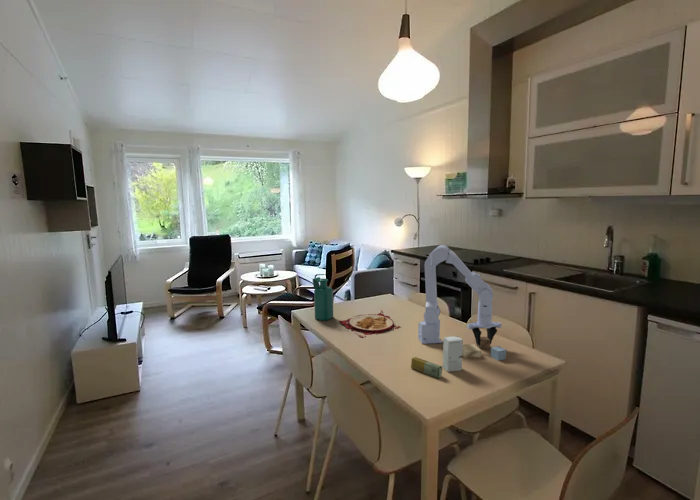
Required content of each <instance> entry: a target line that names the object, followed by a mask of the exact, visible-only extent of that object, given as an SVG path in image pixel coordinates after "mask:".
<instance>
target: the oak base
mask: <svg viewBox="0 0 700 500" xmlns="http://www.w3.org/2000/svg"><path fill="white" fill-rule="evenodd" d="M481 357H482V349H480V348H479V347H478V346H477V345H475V344H474V343H469V344H468V343H467V344H463V349H462V358H464V359H471V358H481Z"/></svg>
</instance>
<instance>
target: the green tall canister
mask: <svg viewBox="0 0 700 500" xmlns="http://www.w3.org/2000/svg"><path fill="white" fill-rule="evenodd" d="M328 281H329V279H328V278H321V277H320V276H318V277H314V278H312V285H313V286H312V287H313V288H314V290H313V291H314V292H313V294H314V295H313V296H314V299H313V300H314V301H313V302H314V318H315V319H316V320H320V321H324V322H326V321H329V320H331V319H333V318H334V289H333V288H332V287H330V286H328V283H327V282H328Z"/></svg>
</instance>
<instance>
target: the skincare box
mask: <svg viewBox="0 0 700 500" xmlns="http://www.w3.org/2000/svg"><path fill="white" fill-rule="evenodd" d="M463 342H464V341H463V339H462V338H461V337H459V336H457V335H456V336H445V337H443V343H442V344H443V347H442V369H444V371H446V372H448V373H449V372H459V371H460V372H461V371H462V369H463V367H462V366H463V356H462V349H463V345H464V343H463Z"/></svg>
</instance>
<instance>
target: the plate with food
mask: <svg viewBox="0 0 700 500" xmlns="http://www.w3.org/2000/svg"><path fill="white" fill-rule="evenodd" d="M380 311H381V312H379V313H377V314H376V313H375V314H373V313H372V314H371V313H368V314H358V315H356V316H355V315H354V316H353V317H351V318H348V319H344V320H341V319H340V320H338V322H340V323H341V324H342V325H343V326H344V327H346V328H347V329H348V330H351V331H352V332H355V333H357V332H358V333H360V334H361V335H360V334H358V337H361V338H362V337H363V338H365V337H367V336H372V335H375V334H376V335H379V334H380V335H382V334H384V333H385V332H386V331H390V330H392V331H395V330H399V328H402V326H401V325H398V326H397V325H395V324H394V321H393V319H392V318H391V317H390V315H385V314H384V311H383V310H382V309H381V310H380ZM362 334H363V335H362Z"/></svg>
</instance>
